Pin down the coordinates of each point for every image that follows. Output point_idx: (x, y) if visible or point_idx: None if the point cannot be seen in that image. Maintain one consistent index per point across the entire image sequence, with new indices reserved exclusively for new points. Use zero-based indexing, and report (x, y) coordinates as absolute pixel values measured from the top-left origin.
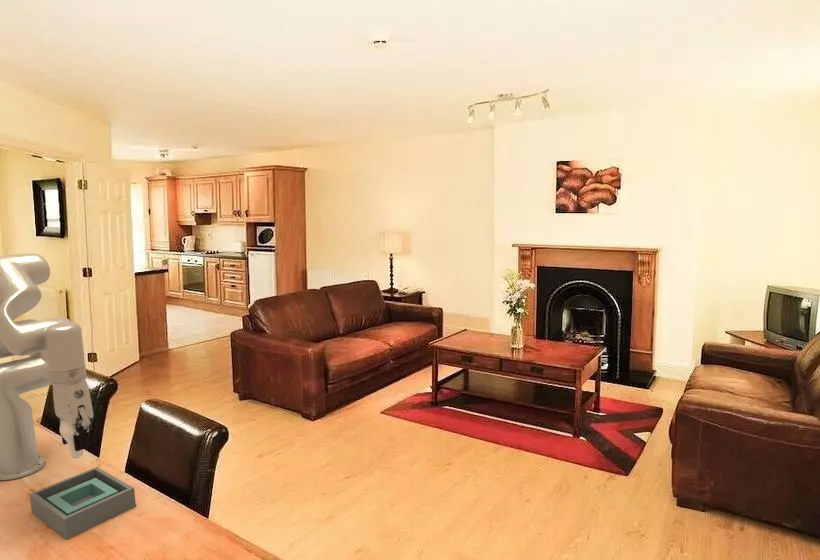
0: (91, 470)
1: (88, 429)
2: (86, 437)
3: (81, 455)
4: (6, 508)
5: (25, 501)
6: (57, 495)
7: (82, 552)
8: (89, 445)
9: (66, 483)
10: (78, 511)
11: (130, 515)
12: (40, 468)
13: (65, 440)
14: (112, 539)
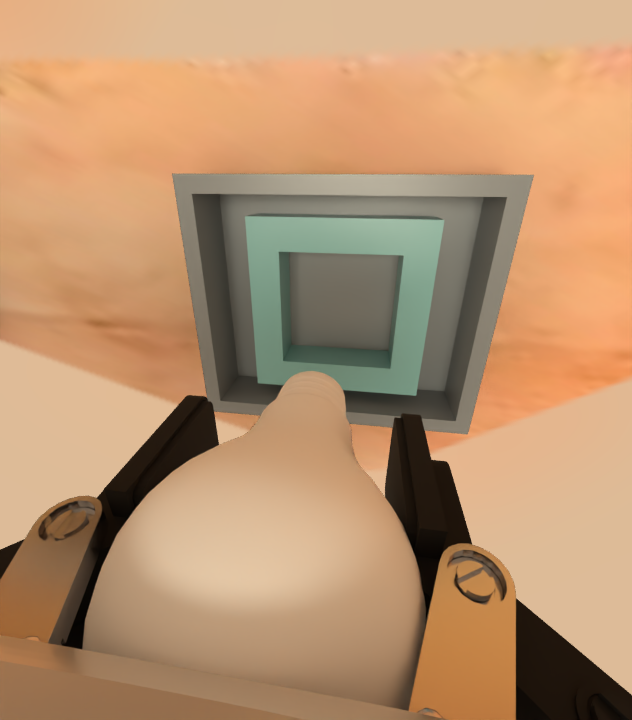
0: (190, 208)
1: (513, 593)
2: (463, 517)
3: (343, 393)
4: (160, 398)
5: (156, 361)
6: (269, 359)
7: (551, 404)
8: (421, 419)
9: (212, 309)
10: (467, 393)
11: (532, 227)
12: None
13: None
14: (590, 335)
